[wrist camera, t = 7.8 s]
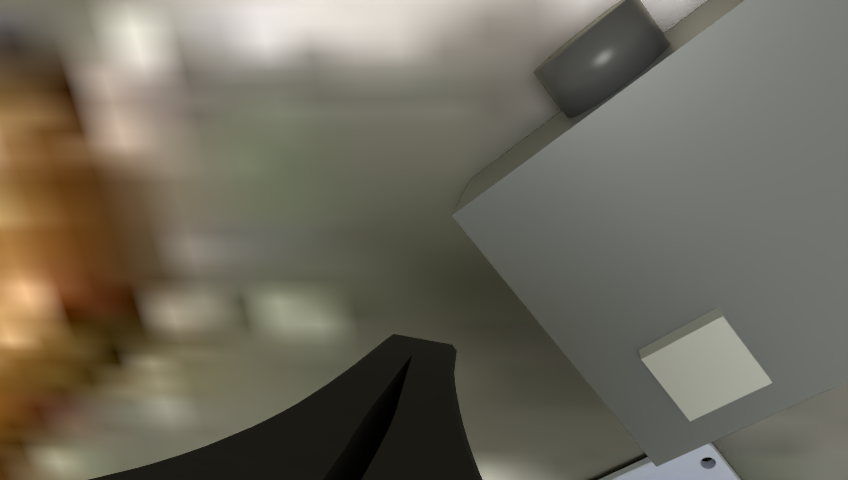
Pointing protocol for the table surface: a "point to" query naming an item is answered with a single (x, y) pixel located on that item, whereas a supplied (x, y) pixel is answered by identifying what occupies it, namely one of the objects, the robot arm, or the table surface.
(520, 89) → the table surface
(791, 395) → the box
